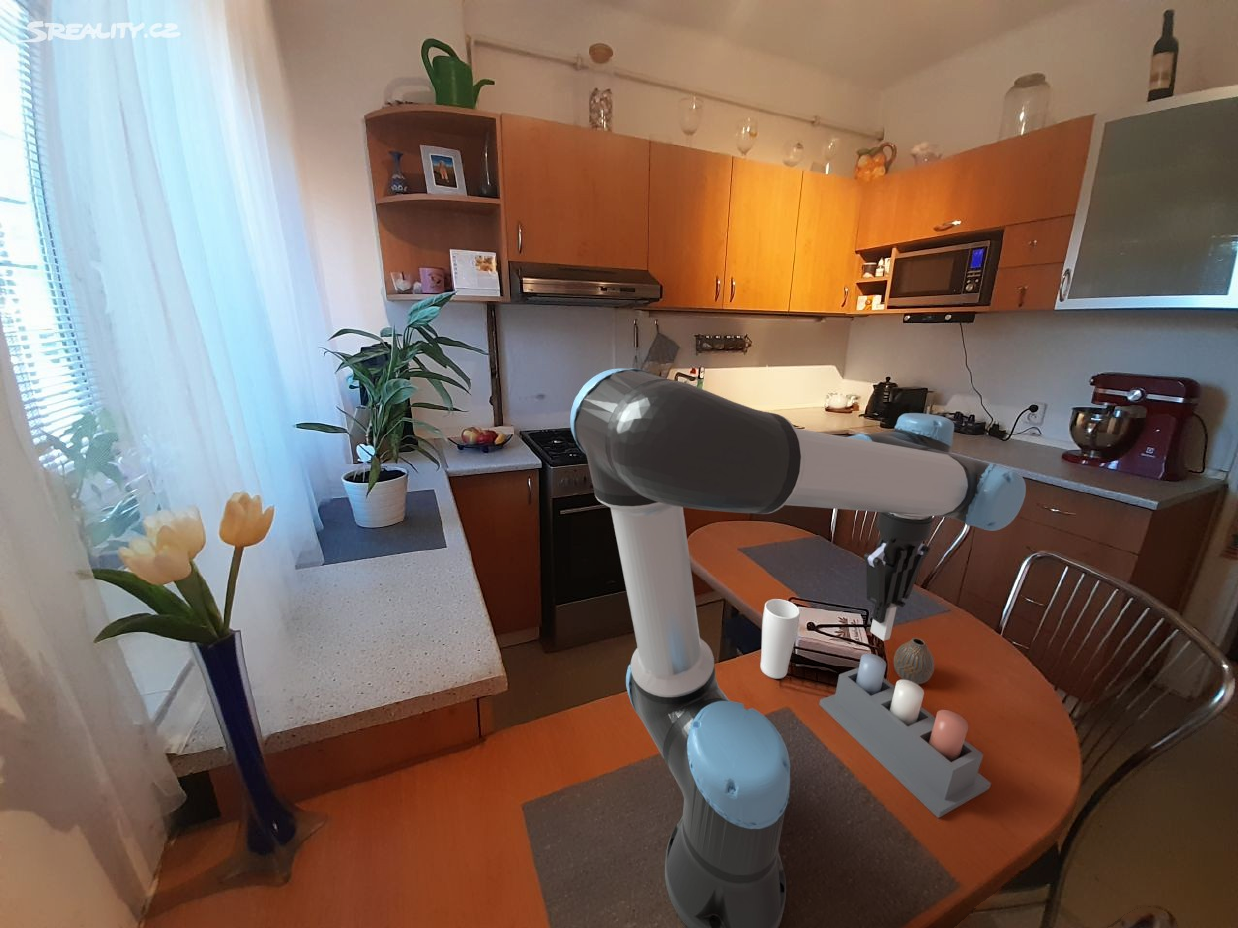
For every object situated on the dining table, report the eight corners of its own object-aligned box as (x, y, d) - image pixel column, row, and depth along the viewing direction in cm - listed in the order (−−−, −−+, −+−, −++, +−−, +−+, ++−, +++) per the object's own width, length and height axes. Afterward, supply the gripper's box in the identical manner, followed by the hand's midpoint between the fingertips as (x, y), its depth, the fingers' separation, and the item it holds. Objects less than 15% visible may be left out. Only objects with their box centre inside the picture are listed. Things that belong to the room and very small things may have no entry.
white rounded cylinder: (904, 734, 79) (912, 700, 77) (882, 716, 82) (890, 683, 80) (920, 727, 80) (929, 693, 78) (898, 709, 84) (907, 676, 82)
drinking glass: (795, 683, 95) (805, 619, 91) (761, 682, 96) (769, 618, 91) (784, 659, 102) (793, 598, 97) (752, 658, 102) (760, 597, 98)
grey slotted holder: (938, 818, 70) (949, 782, 68) (819, 704, 90) (824, 674, 88) (989, 788, 75) (1000, 754, 73) (865, 686, 95) (871, 657, 93)
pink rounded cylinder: (946, 770, 73) (957, 734, 70) (921, 749, 76) (930, 714, 74) (963, 761, 74) (974, 726, 72) (938, 741, 78) (947, 706, 75)
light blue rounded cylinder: (868, 703, 85) (875, 671, 83) (849, 688, 88) (856, 656, 86) (883, 697, 86) (891, 665, 84) (865, 682, 90) (872, 651, 88)
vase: (927, 695, 93) (937, 658, 91) (888, 679, 97) (896, 643, 95) (931, 675, 98) (941, 639, 96) (893, 660, 102) (902, 626, 100)
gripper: (899, 526, 71) (871, 658, 78) (956, 513, 76) (925, 639, 83) (857, 507, 77) (835, 631, 84) (912, 497, 82) (887, 614, 89)
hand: (879, 635), depth 84 cm, fingers closed
